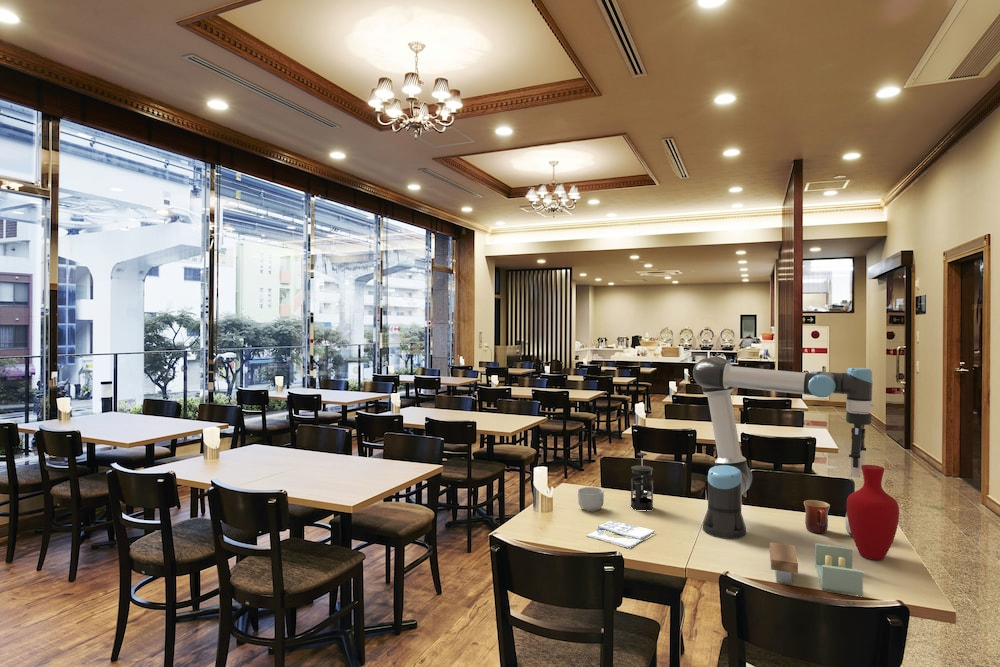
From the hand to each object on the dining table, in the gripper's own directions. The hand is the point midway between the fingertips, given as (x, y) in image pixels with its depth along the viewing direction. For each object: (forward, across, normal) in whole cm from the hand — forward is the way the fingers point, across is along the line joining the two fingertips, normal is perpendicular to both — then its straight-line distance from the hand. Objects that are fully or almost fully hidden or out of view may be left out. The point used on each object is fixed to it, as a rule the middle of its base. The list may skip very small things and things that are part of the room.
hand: (857, 472), depth 206 cm
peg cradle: (+25, -37, +2) cm, 45 cm away
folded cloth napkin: (+27, -40, +71) cm, 86 cm away
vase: (+25, -10, -6) cm, 28 cm away
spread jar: (+26, +12, -2) cm, 28 cm away
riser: (+25, -44, +15) cm, 53 cm away
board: (+21, -44, +16) cm, 51 cm away
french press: (+26, -6, +76) cm, 81 cm away
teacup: (+27, -18, +94) cm, 100 cm away
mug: (+26, +6, +12) cm, 29 cm away
